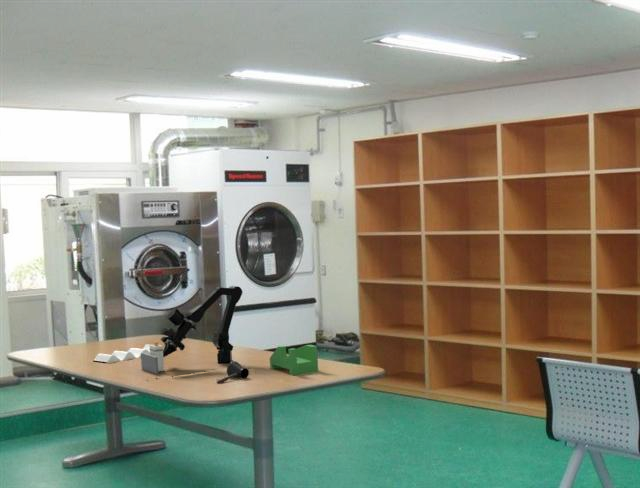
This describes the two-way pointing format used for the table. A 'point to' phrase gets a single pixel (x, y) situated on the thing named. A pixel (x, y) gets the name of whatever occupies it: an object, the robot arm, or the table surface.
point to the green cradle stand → (295, 359)
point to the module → (157, 354)
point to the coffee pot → (235, 372)
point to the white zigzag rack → (122, 355)
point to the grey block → (150, 363)
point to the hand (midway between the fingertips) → (161, 357)
